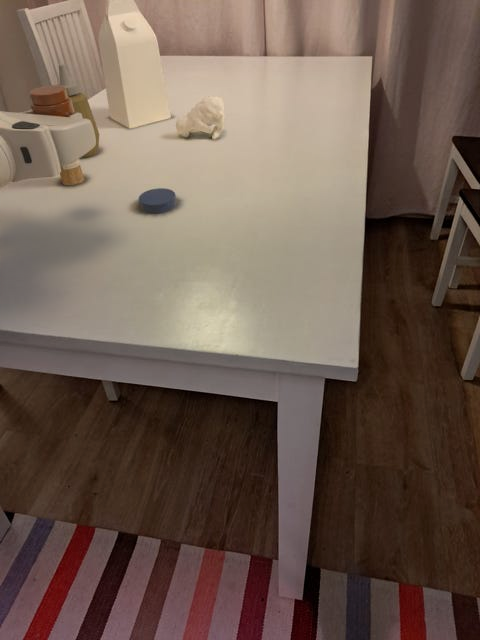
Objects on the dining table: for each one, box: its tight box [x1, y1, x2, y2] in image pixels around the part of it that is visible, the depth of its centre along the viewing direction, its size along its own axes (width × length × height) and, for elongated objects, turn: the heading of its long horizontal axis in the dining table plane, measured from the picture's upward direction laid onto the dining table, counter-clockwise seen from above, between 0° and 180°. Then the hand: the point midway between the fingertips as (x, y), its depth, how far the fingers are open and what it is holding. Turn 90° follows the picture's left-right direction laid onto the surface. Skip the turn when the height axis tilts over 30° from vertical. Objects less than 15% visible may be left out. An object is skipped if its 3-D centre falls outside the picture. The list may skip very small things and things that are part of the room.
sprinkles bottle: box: [59, 158, 85, 187], centre depth 90 cm, size 5×5×13 cm
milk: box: [97, 0, 172, 129], centre depth 114 cm, size 12×12×26 cm
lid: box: [138, 187, 178, 215], centre depth 84 cm, size 7×6×2 cm
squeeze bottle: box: [57, 64, 100, 159], centre depth 99 cm, size 8×8×18 cm
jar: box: [29, 84, 74, 117], centre depth 73 cm, size 6×6×10 cm
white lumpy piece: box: [175, 95, 226, 140], centre depth 108 cm, size 6×8×12 cm
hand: (59, 115), depth 73 cm, fingers closed on jar, 6 cm apart
